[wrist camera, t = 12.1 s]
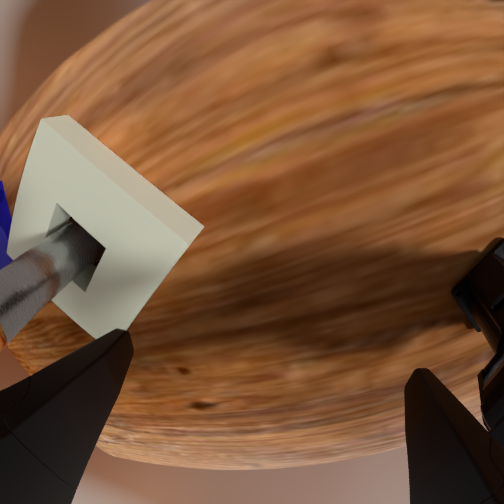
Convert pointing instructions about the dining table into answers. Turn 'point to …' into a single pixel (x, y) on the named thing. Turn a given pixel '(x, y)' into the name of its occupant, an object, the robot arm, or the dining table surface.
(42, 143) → the block
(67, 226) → the steel pin
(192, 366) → the dining table surface
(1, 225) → the blue cradle bracket
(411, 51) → the dining table surface
